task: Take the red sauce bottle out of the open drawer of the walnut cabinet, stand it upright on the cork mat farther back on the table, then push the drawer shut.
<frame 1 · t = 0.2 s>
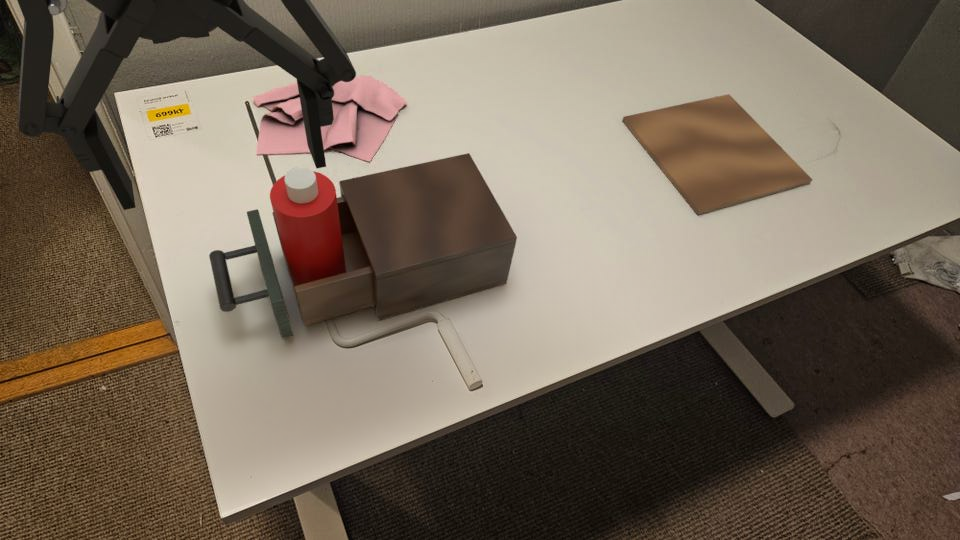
hand: (226, 175, 46), 24 cm above the table, tool pointing down, fingers open, 13 cm apart
cork mat: (713, 151, 90), on the table
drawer: (310, 263, 66), point 4 cm above the table, slide at 9.0 cm, touching sauce bottle
sauce bottle: (318, 274, 68), point 2 cm above the table, touching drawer
cabinet: (424, 256, 73), on the table
cloth: (323, 117, 86), on the table
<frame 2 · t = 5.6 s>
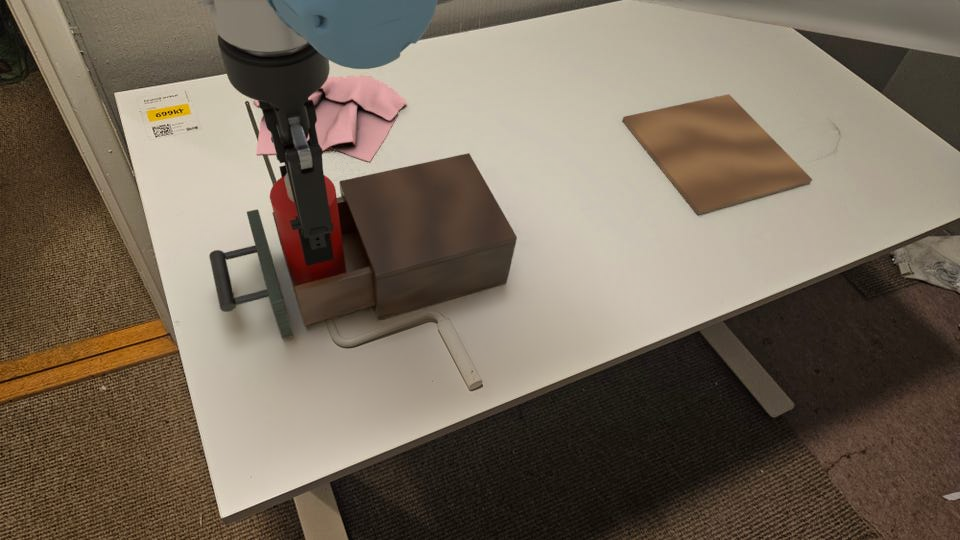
hand: (311, 234, 62), 9 cm above the table, tool pointing down, fingers closed on sauce bottle, 6 cm apart
sauce bottle: (318, 274, 68), point 2 cm above the table, touching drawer, gripper
everything else where it was.
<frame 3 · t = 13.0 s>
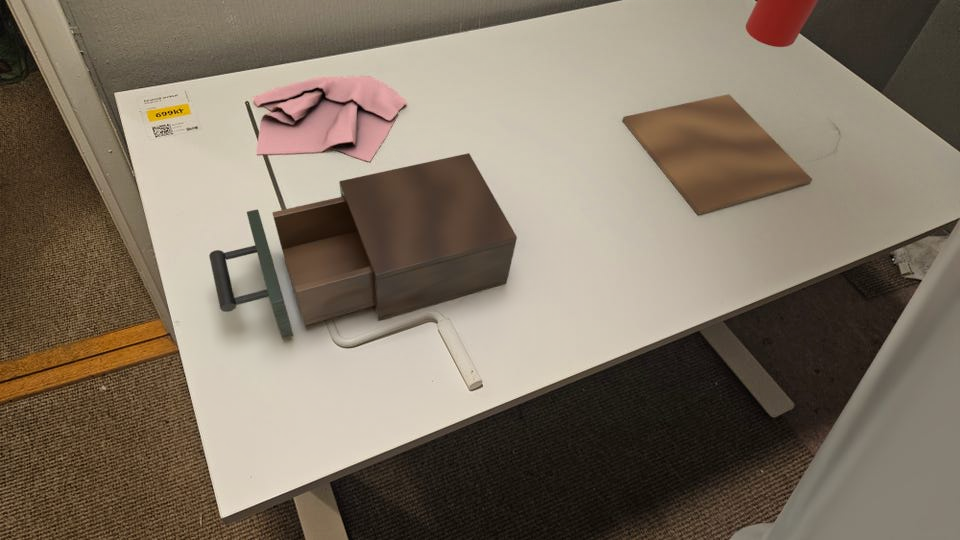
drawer: (310, 263, 66), point 4 cm above the table, slide at 9.0 cm
sauce bottle: (770, 32, 74), point 20 cm above the table, touching gripper
everything else where it was.
when the fingers open (8 cm above the table, at t = 20.2 s): sauce bottle stays where it is, resting on cork mat.
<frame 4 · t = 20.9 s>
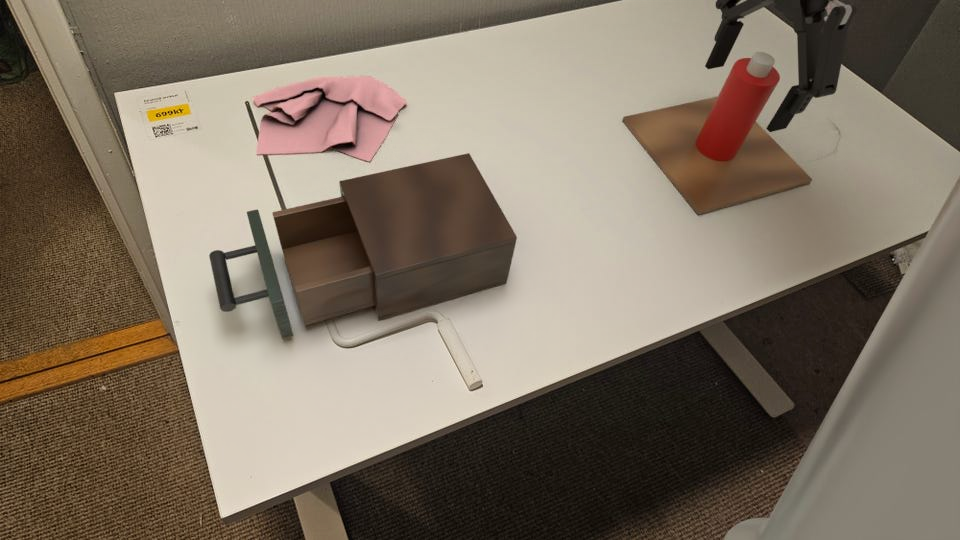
hand: (743, 96, 82), 10 cm above the table, tool pointing down, fingers open, 13 cm apart
sauce bottle: (715, 147, 89), point 1 cm above the table, touching cork mat
everything else where it was.
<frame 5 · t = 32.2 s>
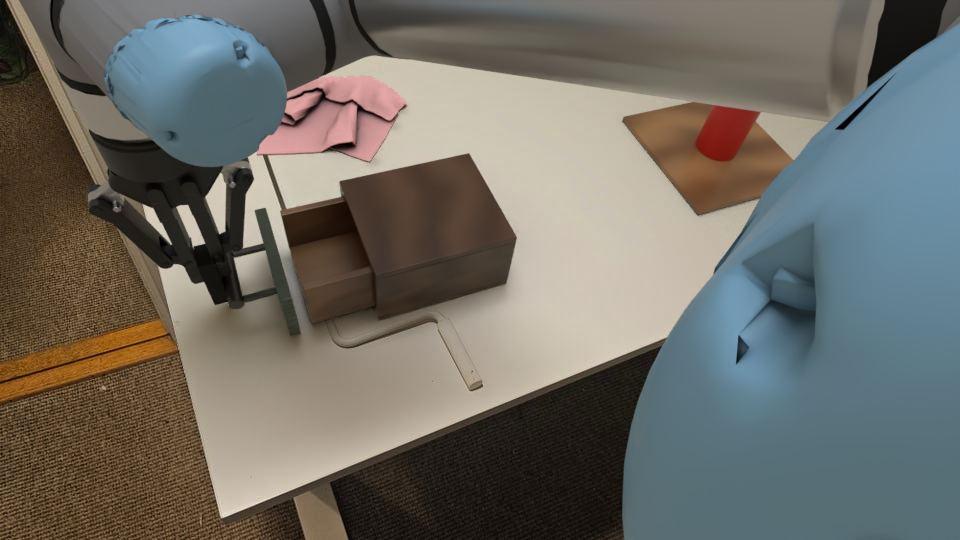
hand: (220, 293, 63), 3 cm above the table, tool pointing down, fingers closed
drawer: (317, 261, 66), point 4 cm above the table, slide at 8.2 cm, touching gripper
everything else where it was.
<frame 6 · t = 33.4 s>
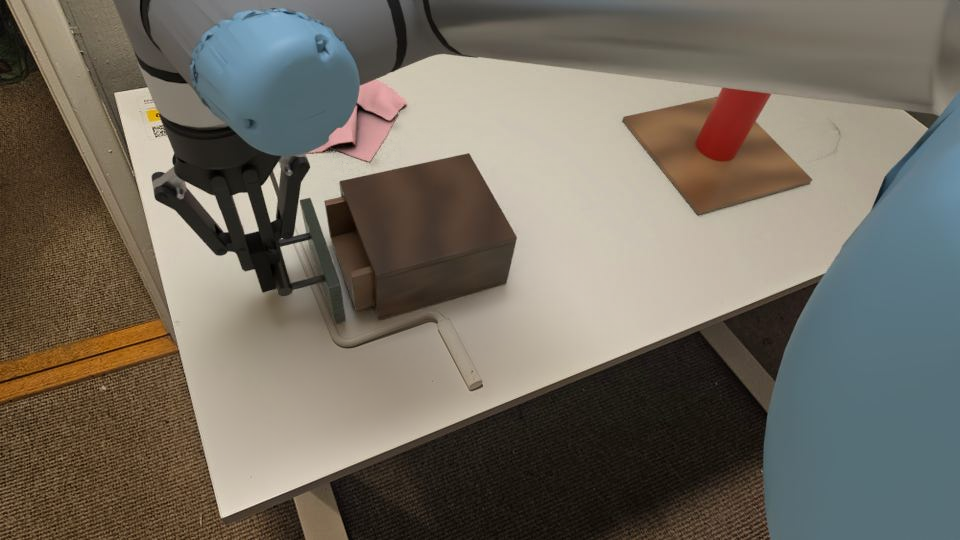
hand: (266, 280, 65), 3 cm above the table, tool pointing down, fingers closed
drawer: (361, 250, 67), point 4 cm above the table, slide at 3.4 cm, touching gripper
everything else where it was.
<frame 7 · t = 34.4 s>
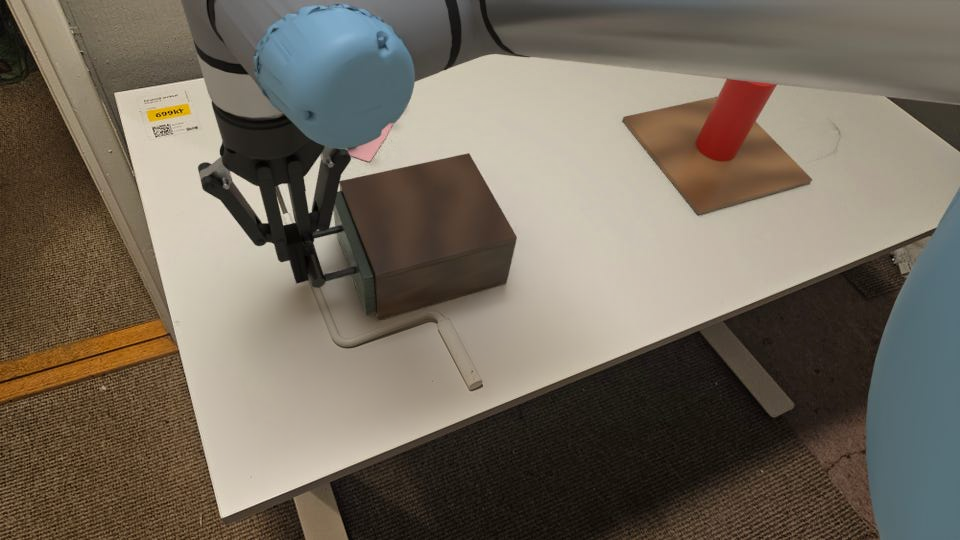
hand: (299, 272, 66), 3 cm above the table, tool pointing down, fingers closed
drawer: (390, 242, 68), point 4 cm above the table, slide at 0.0 cm, touching cabinet, gripper
everything else where it was.
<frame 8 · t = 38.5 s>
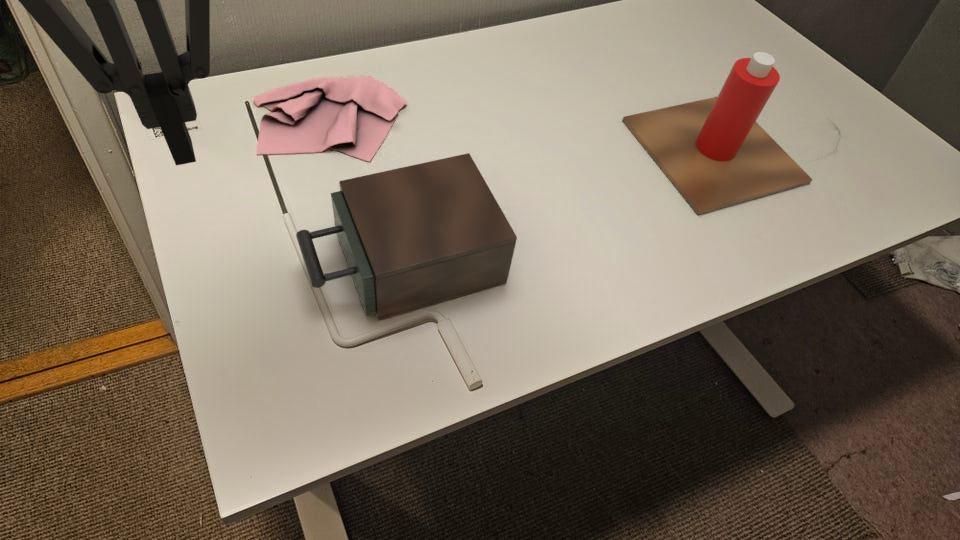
hand: (183, 152, 49), 22 cm above the table, tool pointing down, fingers closed
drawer: (390, 242, 68), point 4 cm above the table, slide at 0.0 cm, touching cabinet
everything else where it was.
at the end: sauce bottle inside the target area on the cork mat (0.0 cm from its centre), point 0.8 cm above the cork mat's base; sauce bottle tilted 0°; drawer slide at 0.0 cm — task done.
